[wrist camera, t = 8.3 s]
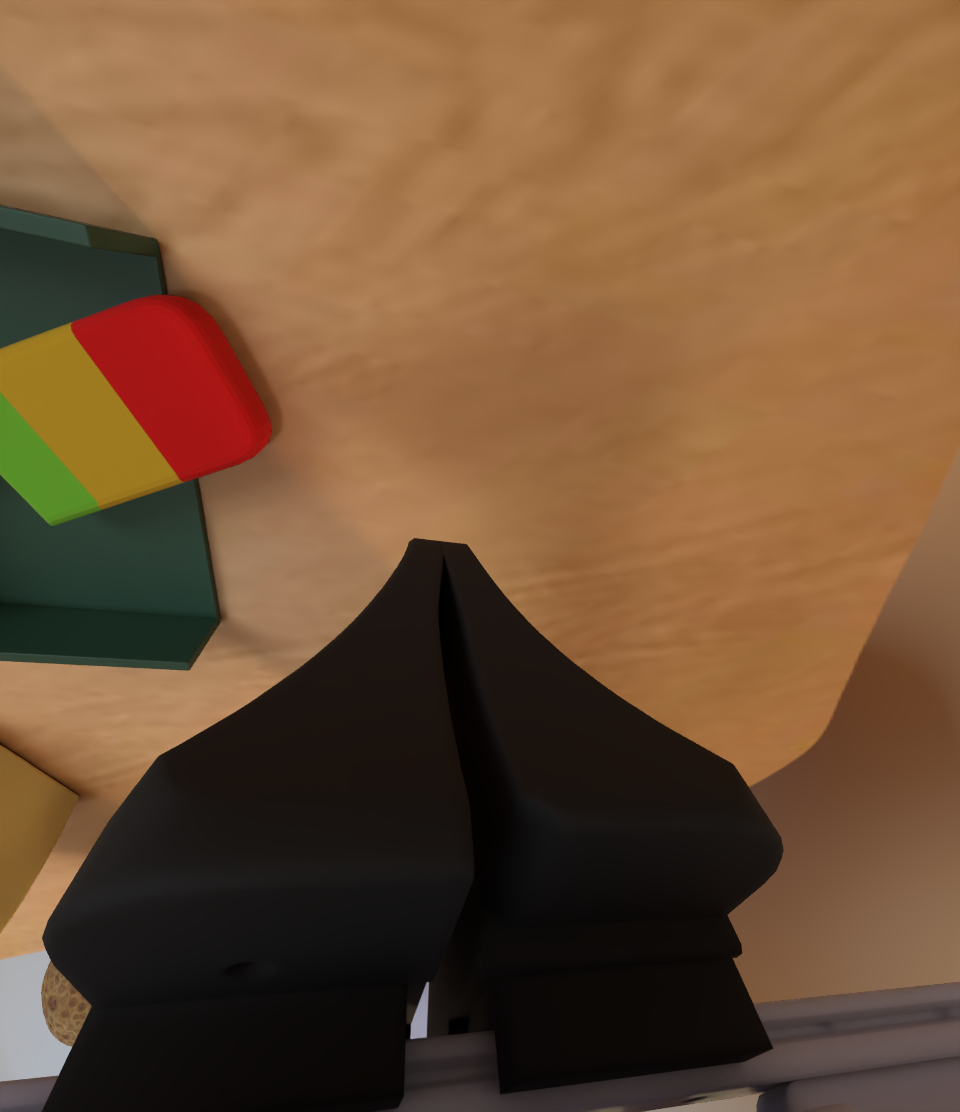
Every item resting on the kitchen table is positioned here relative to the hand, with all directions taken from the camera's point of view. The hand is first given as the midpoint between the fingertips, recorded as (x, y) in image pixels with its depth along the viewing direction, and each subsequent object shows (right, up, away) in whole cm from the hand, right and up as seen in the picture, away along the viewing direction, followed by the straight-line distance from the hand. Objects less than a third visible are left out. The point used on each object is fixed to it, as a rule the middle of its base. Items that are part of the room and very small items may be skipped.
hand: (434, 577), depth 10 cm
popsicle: (-15, +5, +6) cm, 17 cm away
